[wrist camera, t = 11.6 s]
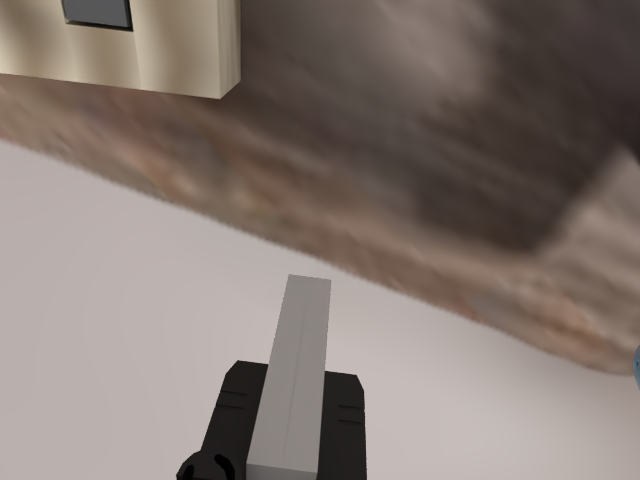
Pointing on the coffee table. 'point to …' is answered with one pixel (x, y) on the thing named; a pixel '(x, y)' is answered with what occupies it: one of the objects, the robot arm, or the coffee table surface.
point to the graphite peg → (99, 11)
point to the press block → (128, 45)
